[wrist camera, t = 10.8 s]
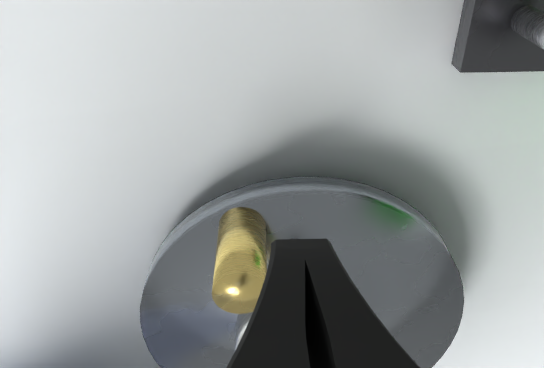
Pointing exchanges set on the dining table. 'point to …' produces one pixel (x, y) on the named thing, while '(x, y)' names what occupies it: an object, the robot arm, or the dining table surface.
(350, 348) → the robot arm
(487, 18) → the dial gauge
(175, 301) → the turntable
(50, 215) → the dining table surface
